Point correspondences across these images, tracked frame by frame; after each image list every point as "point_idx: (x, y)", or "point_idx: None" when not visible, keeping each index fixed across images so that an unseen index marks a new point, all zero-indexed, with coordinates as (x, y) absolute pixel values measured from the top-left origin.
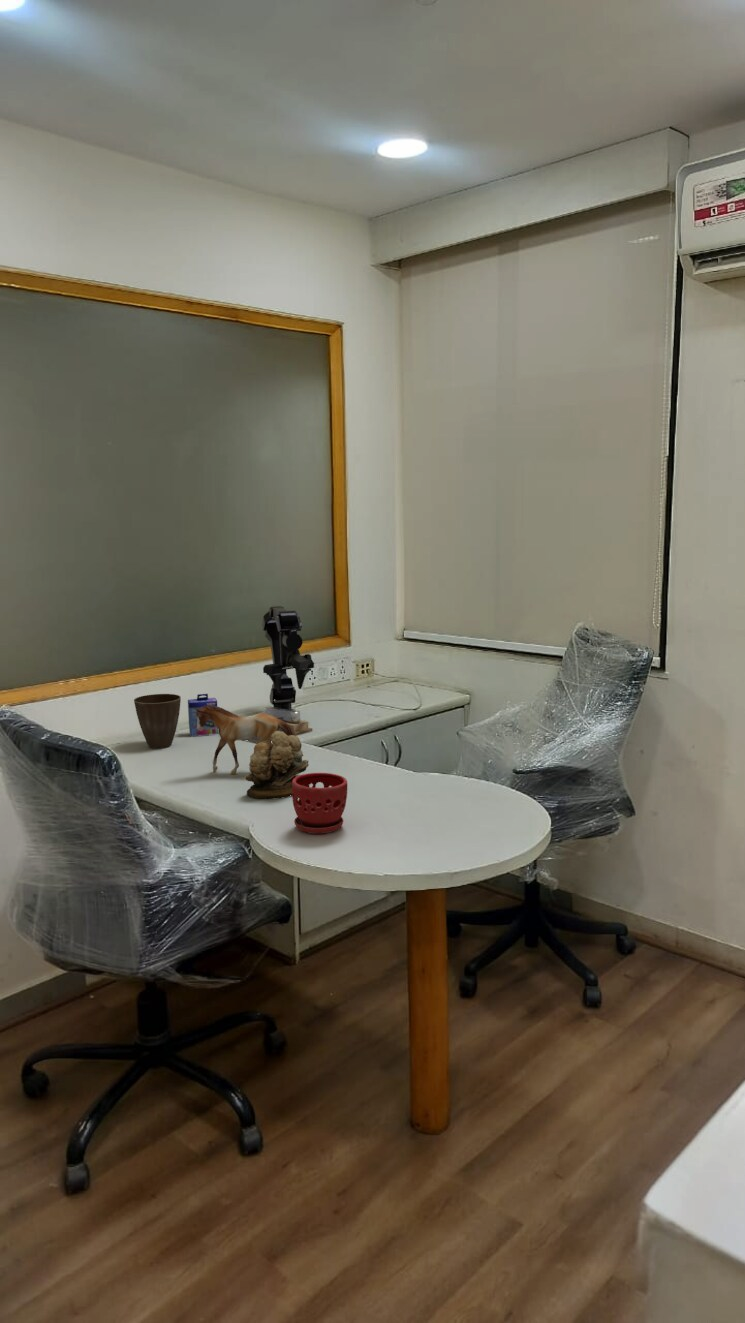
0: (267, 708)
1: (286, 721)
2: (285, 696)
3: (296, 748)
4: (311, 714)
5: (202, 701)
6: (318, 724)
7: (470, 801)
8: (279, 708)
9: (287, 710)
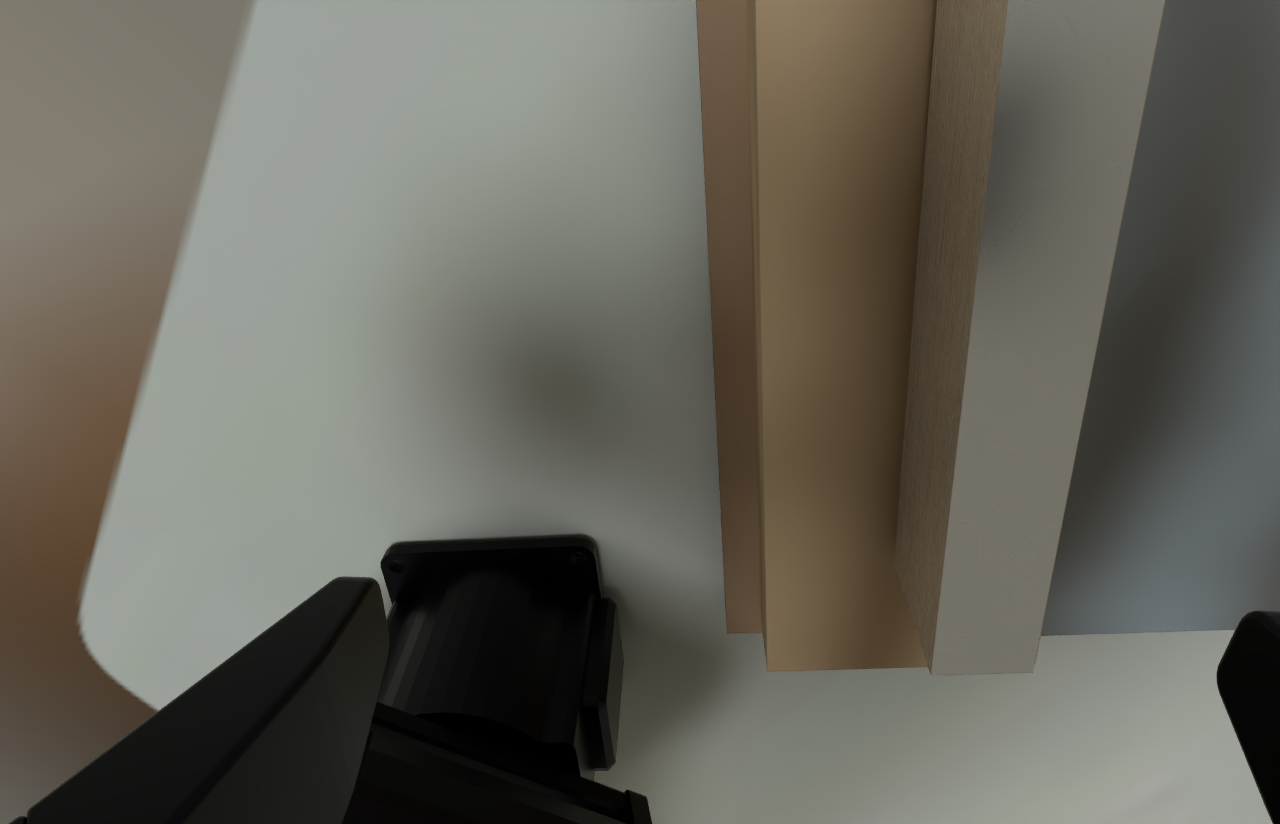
0: (1033, 621)
1: None
2: (494, 797)
3: None
4: (110, 567)
5: None
6: (309, 78)
7: None
8: (994, 433)
9: (1087, 143)
